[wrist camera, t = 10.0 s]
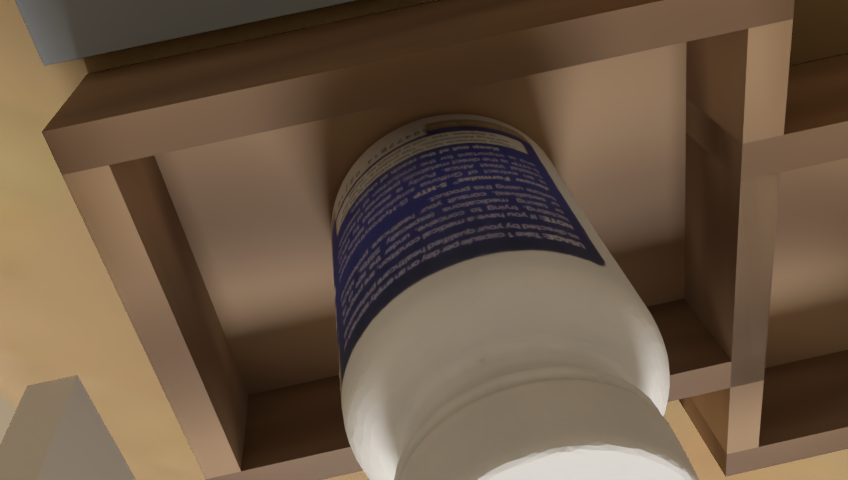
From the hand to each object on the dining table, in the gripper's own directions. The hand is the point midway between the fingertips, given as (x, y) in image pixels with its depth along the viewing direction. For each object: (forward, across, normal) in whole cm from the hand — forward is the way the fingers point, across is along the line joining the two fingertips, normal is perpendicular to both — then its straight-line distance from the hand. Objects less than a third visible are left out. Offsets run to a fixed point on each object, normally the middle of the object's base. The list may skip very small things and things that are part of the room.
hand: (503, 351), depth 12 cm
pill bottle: (+6, 0, -1) cm, 6 cm away
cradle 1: (+6, 0, -1) cm, 6 cm away
